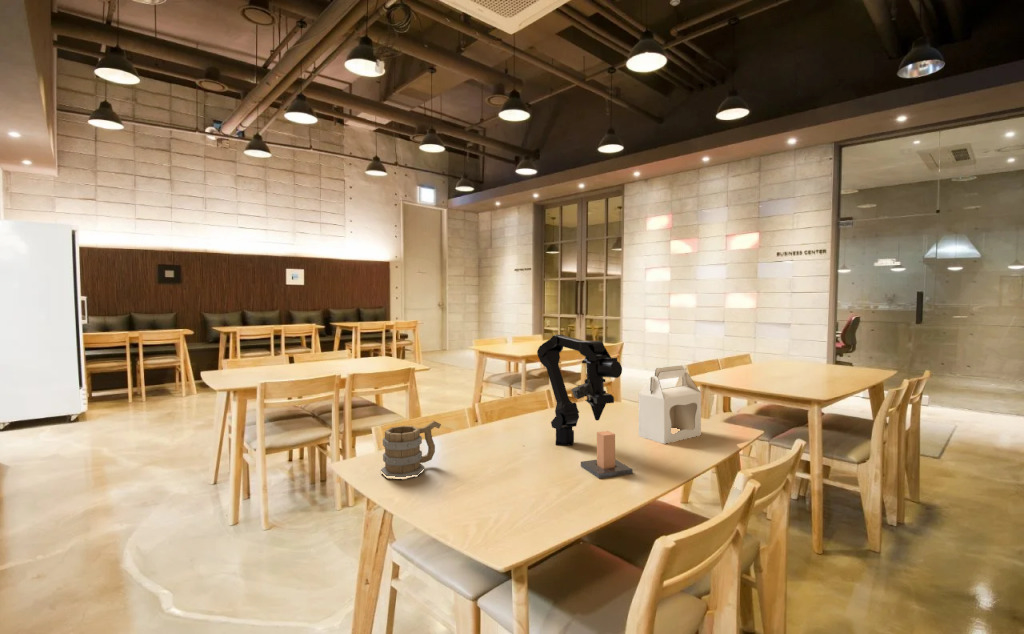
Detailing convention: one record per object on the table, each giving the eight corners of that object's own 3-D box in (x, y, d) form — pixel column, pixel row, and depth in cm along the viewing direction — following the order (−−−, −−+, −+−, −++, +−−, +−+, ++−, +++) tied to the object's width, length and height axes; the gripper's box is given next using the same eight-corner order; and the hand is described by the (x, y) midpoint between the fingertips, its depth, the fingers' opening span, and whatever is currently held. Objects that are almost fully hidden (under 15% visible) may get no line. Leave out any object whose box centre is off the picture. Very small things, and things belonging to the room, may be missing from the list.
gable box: (664, 444, 181) (664, 371, 180) (637, 436, 192) (637, 367, 191) (701, 435, 192) (701, 366, 191) (674, 428, 204) (674, 363, 203)
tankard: (390, 483, 144) (389, 434, 144) (377, 471, 155) (376, 425, 154) (450, 470, 155) (449, 424, 155) (434, 459, 166) (433, 416, 165)
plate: (580, 466, 158) (580, 461, 158) (612, 461, 162) (612, 457, 162) (599, 478, 146) (599, 473, 146) (632, 473, 150) (632, 469, 150)
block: (597, 468, 155) (596, 432, 155) (608, 467, 157) (608, 430, 156) (603, 472, 151) (603, 435, 151) (615, 471, 153) (615, 434, 152)
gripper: (565, 375, 177) (567, 417, 177) (582, 380, 159) (584, 427, 158) (593, 373, 179) (595, 414, 179) (613, 378, 161) (615, 424, 161)
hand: (597, 420), depth 169 cm, fingers closed
